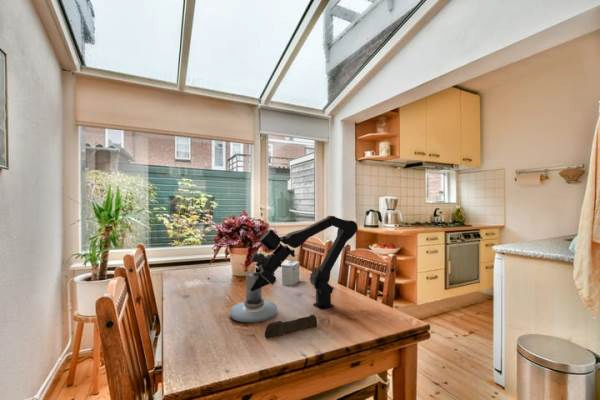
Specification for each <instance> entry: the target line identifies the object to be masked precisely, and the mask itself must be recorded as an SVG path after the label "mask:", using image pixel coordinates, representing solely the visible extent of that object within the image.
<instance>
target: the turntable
mask: <svg viewBox="0 0 600 400" xmlns="http://www.w3.org/2000/svg"><path fill="white" fill-rule="evenodd" d="M263 300H264V305H263V306H261V307H258V308H247V307H245V305H244V302H245V301H241V302H239V303H236V304H234V305H233V306H232V307H231V308H230V317H231V319H233V321H234V320H235V321H237V322H243V323H256V322H257V323H258V322H263V321H266V320H269V319H271V318H273V317H274V316H276V315H277V313H278V306H277V304H276V303H275V302H273V301H270V300H265V299H263Z"/></svg>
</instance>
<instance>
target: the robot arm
mask: <svg viewBox="0 0 600 400" xmlns="http://www.w3.org/2000/svg"><path fill="white" fill-rule="evenodd" d="M330 227H335V228H337V232H336V237H335V239H334V241H333V243H332V245H331V246H330V248H329V251H328V252H327V254H326V255H325V257H324V259H323V261H322V263H321V264H320V265H319V266H320V267H319V266H318V267H316V266H314V267H313V270H312V272H311V273H310V274H309V276H310V277H309V282H310V284H311V285H312V287H314V289H315V303H314V302H313V304H312V305H313V306H314V307H316V308H319V309H320V310H325V309H328V308H333V307H334V306H335V305H334V304H332V299H331V298H332V297H331V296H332V293H333V291H334V288H333V287H332V286H331V285H330V283H329V281H330V278H331V271H332V269H333V267H334V266H335V263H336V262H337V260H338V258H339V256H340V254H341V253H342V251H343V250H344V247H345V245H346V244H347V242H348V241H349V240H350V239H352V238H353V237H354V236H355V234H356V233H357V232H358V228H359V227H358V224H357V222H356V221H354V220H351V219H350V220H348V219H342V218H339V217H336V216H334V215H327V216H326V217H325V218H322V219H321V220H318V221H317V222H314V223H313V224H310V225H309V226H307V227H305V228H302V229H298V230H295V231H294V230H293V231H291V232H289V233H287V234H286V235H283V236H279V235H278V234H277V233H275V231H274V230H273V229H272V228H270V229H269V230H267V232H265V233H264V234H263V235H262V236H261V237H260V238H259V240H258V242H260V243H261V245H262V246H263V247H265V248H266V249H267V250H268V251H273V252H272V253H271V254H267V255H265V254H264V253H261V252H259V253H258V252H256V251H253V253H252V255H251V258H250V260H251V262H253V263H255V264H254V265H255V267H254V268H255V269H254V270H255V271H254V272H258V279H257V280H256V282H255V283H254V285H253V286H252V288H251V289H250V290H251V291H255V290H257V289H259V288H261V287H262V288H263V287H265V286H268V285H274V284H275V283H276V282H277V277H276V273H275V272H276V271H277V270H278V269H279V268H282V265H283V263H284V262H285V261H286V260H287V259H288V257H289V256H291V257H293V258H295V257H296V256H295V255H296V254H295V252H296V251H295V249H297V248H299V247H301V246H302V245H303V244H304V243H306V241H307V240H308V239H309V238H312V237H313V236H315V235H317V234H319V233H321V232H323V231H325V230H326V229H329V228H330ZM283 244H284V245H283ZM291 248H292V249H291ZM293 248H294V249H293Z"/></svg>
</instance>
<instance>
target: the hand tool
mask: <svg viewBox="0 0 600 400" xmlns="http://www.w3.org/2000/svg"><path fill="white" fill-rule="evenodd" d="M317 326H318V319H317V317H316V316H315V314H311V315H309V316H304V317H300V318H296V319H292V320H287V321H282V320H277V321H272V322H269V323H268V324H267V326H266V328H265V331H264V338H266V339H268V338H270V339H271V338H276V337H282V336H283V335H284V334H287V333H291V332H295V331H299V330H303V329H308V328H312V327H314V328H317Z"/></svg>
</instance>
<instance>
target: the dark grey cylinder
mask: <svg viewBox="0 0 600 400" xmlns="http://www.w3.org/2000/svg"><path fill="white" fill-rule="evenodd" d="M257 279H258V272H255V271H254V272H248V273H246V274H245V291H246V292H245V294H246V299H245V301H243V302H244V305H245V307H247V308H258V307H261V306H263V305H264V300H265V299H263V297H262V296H263V295H262V294H263V293H262V292H263V291H262V288H263V287H261V288H259V289H257V290H255V291H251V290H250V289H251V288H252V286H253V285H254V283H255V282H256V280H257Z"/></svg>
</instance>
